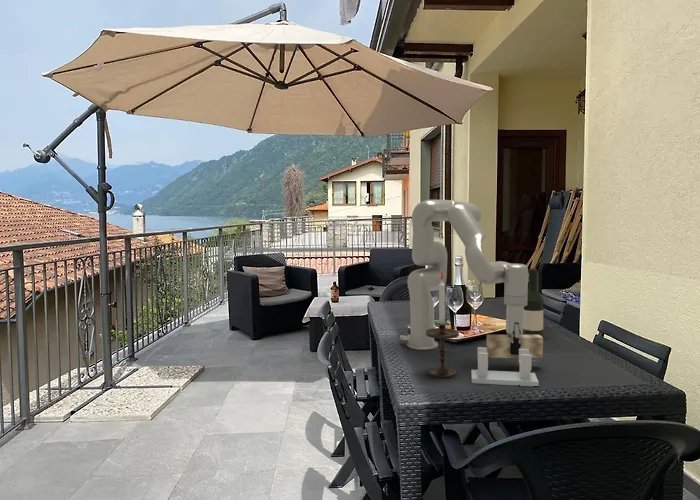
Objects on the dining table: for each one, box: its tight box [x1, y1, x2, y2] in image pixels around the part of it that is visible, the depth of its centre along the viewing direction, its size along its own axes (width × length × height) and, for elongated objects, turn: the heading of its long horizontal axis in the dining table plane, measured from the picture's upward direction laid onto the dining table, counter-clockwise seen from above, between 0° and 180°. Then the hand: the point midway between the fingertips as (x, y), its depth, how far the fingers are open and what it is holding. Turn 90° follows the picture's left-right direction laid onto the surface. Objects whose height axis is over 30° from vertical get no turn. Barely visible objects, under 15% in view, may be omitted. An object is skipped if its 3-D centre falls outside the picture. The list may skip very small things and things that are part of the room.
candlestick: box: [426, 271, 460, 379], centre depth 165 cm, size 11×11×35 cm
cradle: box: [470, 346, 540, 387], centre depth 158 cm, size 20×9×10 cm, turn 77°
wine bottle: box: [522, 267, 544, 338], centre depth 209 cm, size 8×8×30 cm
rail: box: [486, 334, 544, 359], centre depth 170 cm, size 18×4×7 cm, turn 88°
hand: (514, 351), depth 170 cm, fingers closed on rail, 4 cm apart
